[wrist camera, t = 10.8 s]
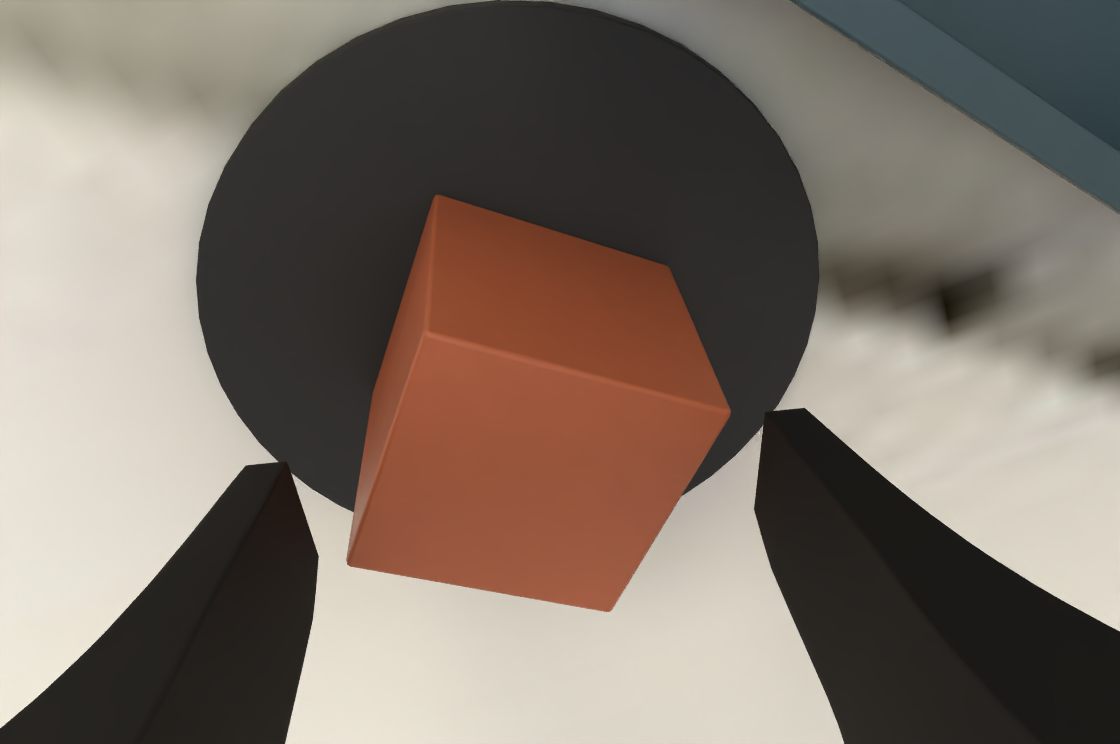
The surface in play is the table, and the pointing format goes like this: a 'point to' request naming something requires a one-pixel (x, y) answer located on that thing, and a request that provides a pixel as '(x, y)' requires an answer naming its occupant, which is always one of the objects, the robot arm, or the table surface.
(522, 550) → the block
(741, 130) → the coaster
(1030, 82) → the tote
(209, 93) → the table surface
